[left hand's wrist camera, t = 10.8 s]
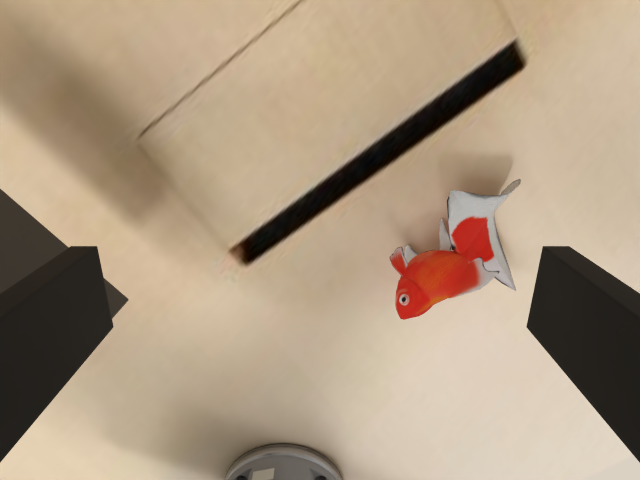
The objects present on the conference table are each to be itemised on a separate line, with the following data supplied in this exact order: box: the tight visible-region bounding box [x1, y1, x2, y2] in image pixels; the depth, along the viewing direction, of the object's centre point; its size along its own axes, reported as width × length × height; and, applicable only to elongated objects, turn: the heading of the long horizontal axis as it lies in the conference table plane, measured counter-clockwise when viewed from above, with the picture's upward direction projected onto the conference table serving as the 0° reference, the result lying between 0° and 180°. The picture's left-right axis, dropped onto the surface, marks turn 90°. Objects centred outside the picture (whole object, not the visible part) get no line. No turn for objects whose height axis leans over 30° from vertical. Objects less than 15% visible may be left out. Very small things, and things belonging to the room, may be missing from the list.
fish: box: [390, 179, 521, 320], centre depth 38 cm, size 11×16×10 cm
